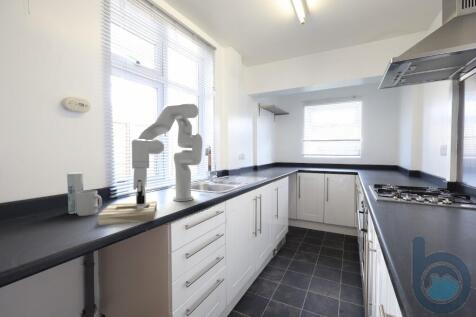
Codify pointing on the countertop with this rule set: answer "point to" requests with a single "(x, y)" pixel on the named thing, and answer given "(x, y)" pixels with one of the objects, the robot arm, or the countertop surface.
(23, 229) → the countertop surface
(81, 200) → the mug
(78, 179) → the tall grey container
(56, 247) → the countertop surface
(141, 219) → the keyhole plate
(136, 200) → the peg
